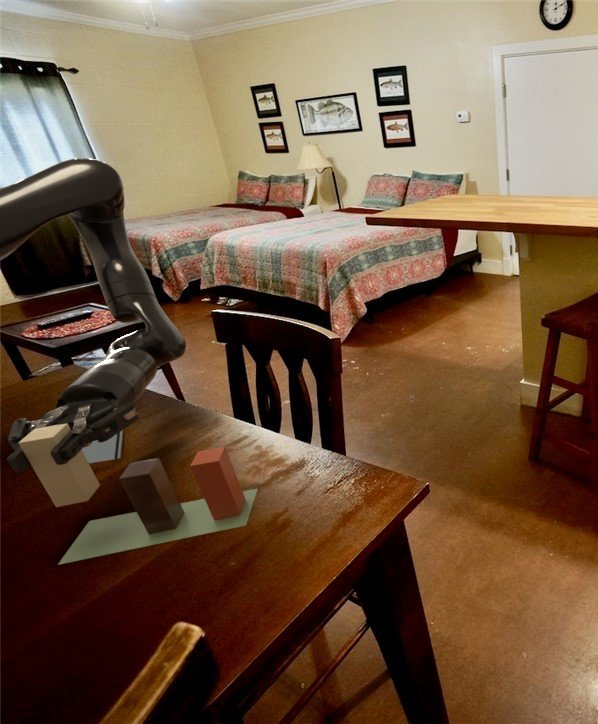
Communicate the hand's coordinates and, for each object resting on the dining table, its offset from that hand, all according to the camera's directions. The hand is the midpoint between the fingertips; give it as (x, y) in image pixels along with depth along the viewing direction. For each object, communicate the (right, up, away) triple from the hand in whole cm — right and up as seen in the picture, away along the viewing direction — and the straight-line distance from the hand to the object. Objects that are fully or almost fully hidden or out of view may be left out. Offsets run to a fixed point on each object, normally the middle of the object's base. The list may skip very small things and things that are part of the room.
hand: (37, 461), depth 57 cm
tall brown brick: (+7, -11, +11) cm, 17 cm away
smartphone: (-18, -5, +26) cm, 32 cm away
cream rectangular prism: (-1, -6, +6) cm, 8 cm away
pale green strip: (+7, -12, +11) cm, 18 cm away
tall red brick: (+15, -10, +13) cm, 22 cm away
